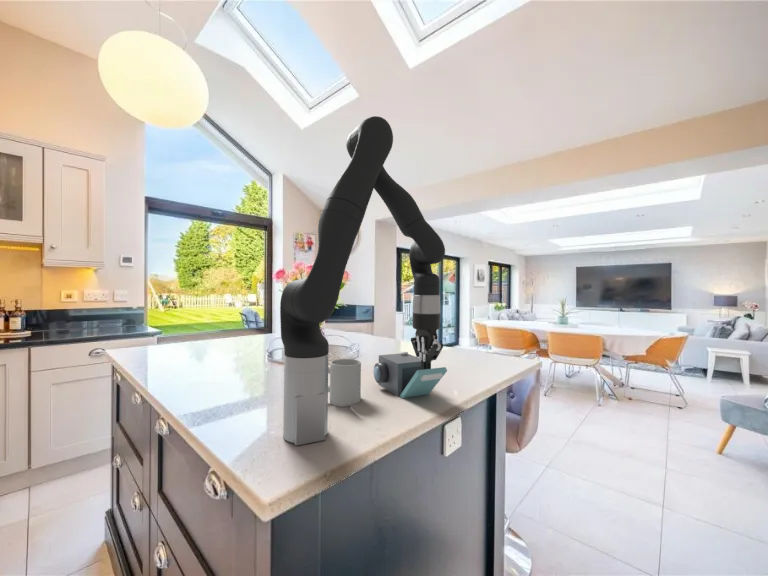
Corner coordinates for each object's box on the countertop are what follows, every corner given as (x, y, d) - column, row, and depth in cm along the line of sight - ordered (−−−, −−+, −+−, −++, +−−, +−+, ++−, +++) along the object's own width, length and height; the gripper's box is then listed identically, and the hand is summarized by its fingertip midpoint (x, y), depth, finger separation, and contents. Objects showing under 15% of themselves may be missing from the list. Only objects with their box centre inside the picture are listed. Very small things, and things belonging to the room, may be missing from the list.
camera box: (427, 394, 99) (427, 358, 99) (388, 400, 93) (389, 361, 93) (405, 382, 111) (405, 350, 111) (370, 387, 105) (370, 353, 105)
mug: (361, 396, 96) (362, 359, 96) (359, 407, 87) (359, 365, 87) (320, 396, 96) (321, 358, 96) (314, 406, 87) (314, 365, 87)
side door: (429, 397, 97) (448, 373, 89) (402, 401, 93) (420, 376, 85) (426, 391, 98) (445, 367, 90) (399, 395, 94) (417, 370, 86)
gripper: (452, 313, 86) (451, 379, 86) (424, 309, 98) (423, 367, 98) (428, 313, 83) (428, 382, 83) (402, 310, 95) (402, 370, 95)
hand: (425, 374), depth 91 cm, fingers closed
